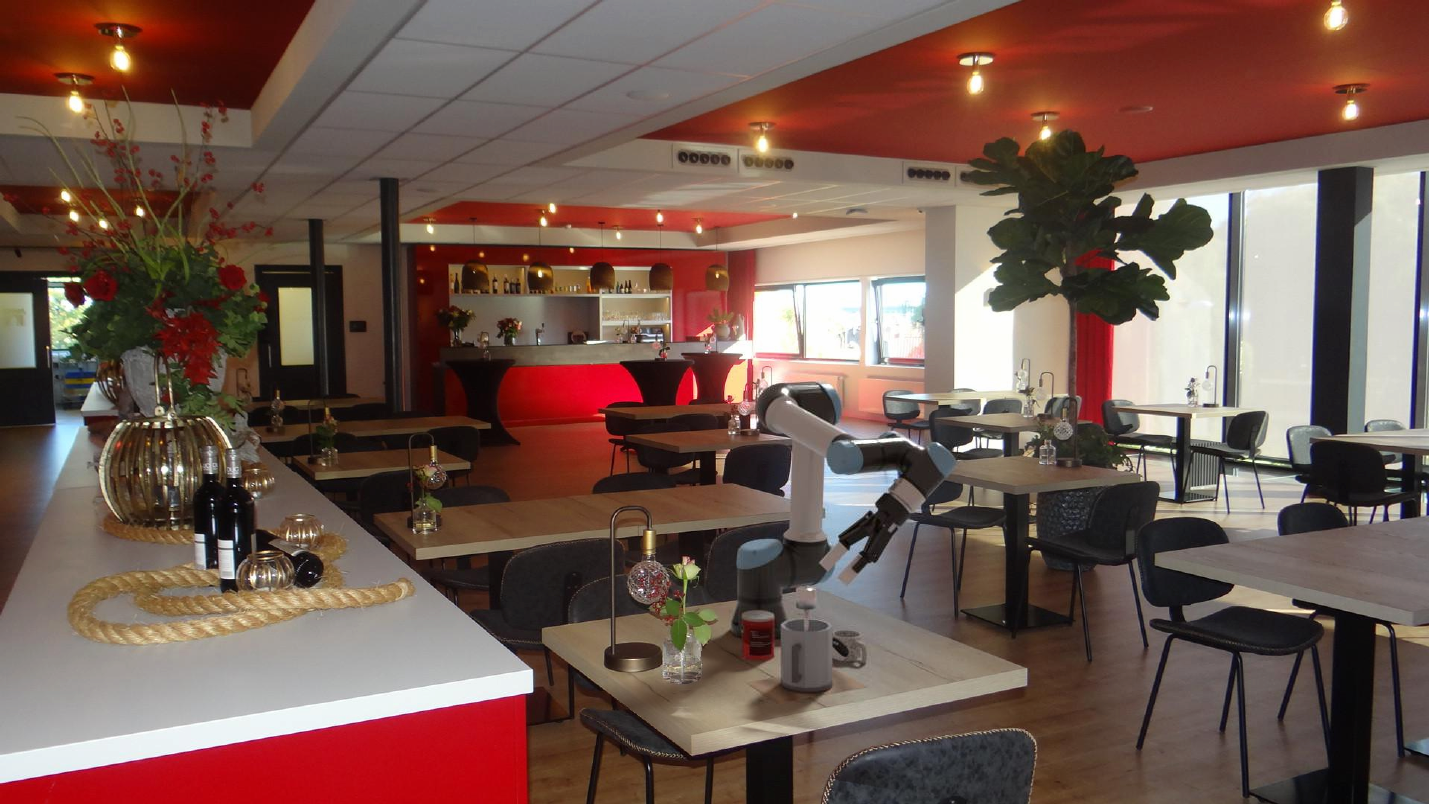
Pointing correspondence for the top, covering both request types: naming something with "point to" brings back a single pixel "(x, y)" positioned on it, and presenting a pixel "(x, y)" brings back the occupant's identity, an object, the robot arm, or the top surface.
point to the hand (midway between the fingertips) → (832, 574)
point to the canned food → (758, 635)
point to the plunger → (806, 602)
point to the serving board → (781, 695)
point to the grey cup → (806, 656)
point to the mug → (848, 646)
